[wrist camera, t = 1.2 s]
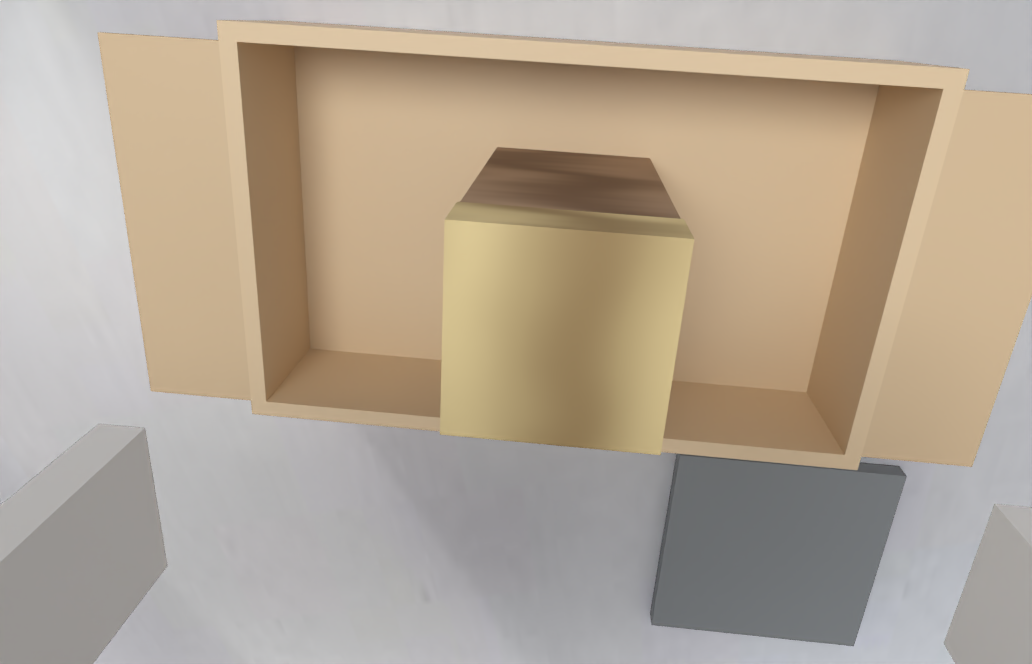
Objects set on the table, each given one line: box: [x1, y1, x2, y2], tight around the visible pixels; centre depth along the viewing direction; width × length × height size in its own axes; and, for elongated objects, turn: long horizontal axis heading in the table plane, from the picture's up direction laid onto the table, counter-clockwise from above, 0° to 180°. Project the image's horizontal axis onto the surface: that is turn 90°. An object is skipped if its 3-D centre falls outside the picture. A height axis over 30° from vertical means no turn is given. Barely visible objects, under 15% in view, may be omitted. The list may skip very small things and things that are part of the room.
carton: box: [98, 20, 1032, 470], centre depth 28 cm, size 31×14×6 cm, turn 87°
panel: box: [650, 454, 907, 646], centre depth 36 cm, size 10×10×1 cm
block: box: [440, 147, 694, 455], centre depth 25 cm, size 6×6×12 cm
